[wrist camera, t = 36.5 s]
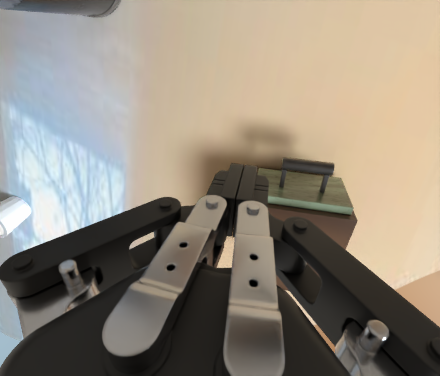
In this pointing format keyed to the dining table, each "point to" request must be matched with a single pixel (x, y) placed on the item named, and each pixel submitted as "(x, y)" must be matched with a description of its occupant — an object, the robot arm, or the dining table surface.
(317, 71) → the dining table surface
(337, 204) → the drawer
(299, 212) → the cabinet
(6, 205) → the white short cylinder
